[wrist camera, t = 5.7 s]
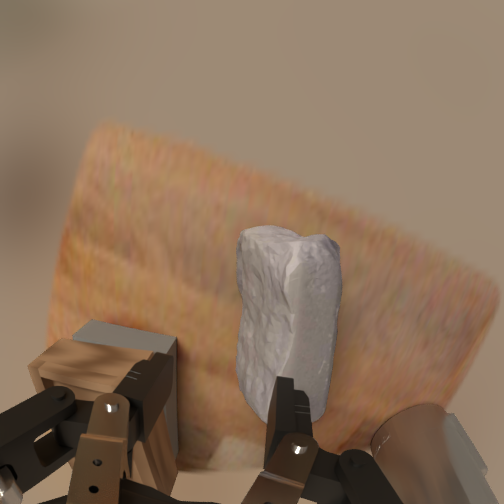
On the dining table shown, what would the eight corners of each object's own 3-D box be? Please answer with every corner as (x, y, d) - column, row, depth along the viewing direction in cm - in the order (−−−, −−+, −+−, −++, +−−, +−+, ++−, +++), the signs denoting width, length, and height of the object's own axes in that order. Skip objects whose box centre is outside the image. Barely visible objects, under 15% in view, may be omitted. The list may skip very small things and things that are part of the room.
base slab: (177, 334, 27) (163, 357, 23) (179, 448, 30) (170, 473, 27) (94, 317, 28) (72, 335, 24) (110, 430, 31) (97, 451, 27)
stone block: (286, 358, 27) (329, 434, 17) (229, 361, 26) (251, 445, 16) (297, 217, 24) (362, 241, 15) (233, 216, 23) (262, 239, 14)
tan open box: (153, 350, 23) (126, 388, 18) (178, 472, 26) (165, 509, 21) (61, 337, 24) (27, 365, 19) (100, 455, 27) (82, 486, 22)
